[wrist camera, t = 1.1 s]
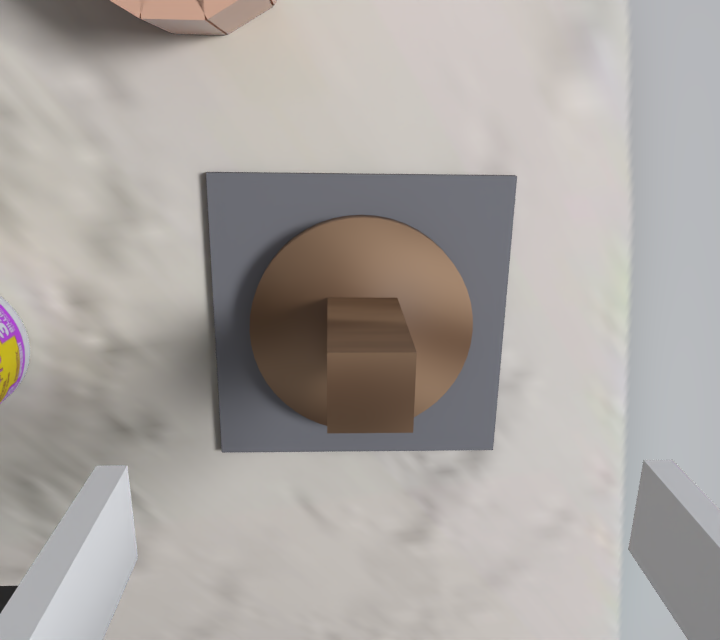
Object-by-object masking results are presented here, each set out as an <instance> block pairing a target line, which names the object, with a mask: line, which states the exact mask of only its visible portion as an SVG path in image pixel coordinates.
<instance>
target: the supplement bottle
mask: <svg viewBox="0 0 720 640" xmlns="http://www.w3.org/2000/svg"><path fill="white" fill-rule="evenodd" d="M29 360H30V344H29V339H28V335H27V331H26V329H25V326H24V324H23V322H22V320H21V318H20V317H19V315H18V314H17V312H16V311H15V310H14V308H13V307H12V306H11V305H10V304H9V303H8V302H7V301H6V300H5V299H4V298H3V297H2V296H0V404H1V403H2V402H3V401H4V400H5V399H6V398H7V397H8V396H9V395H10V394H11V393H12V392H14V390H15V389H16V388H17V387H18V386H19V384H20V383H21V382H22V380H23V378H24V376H25V374H26V371H27V368H28V365H29Z"/></svg>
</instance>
